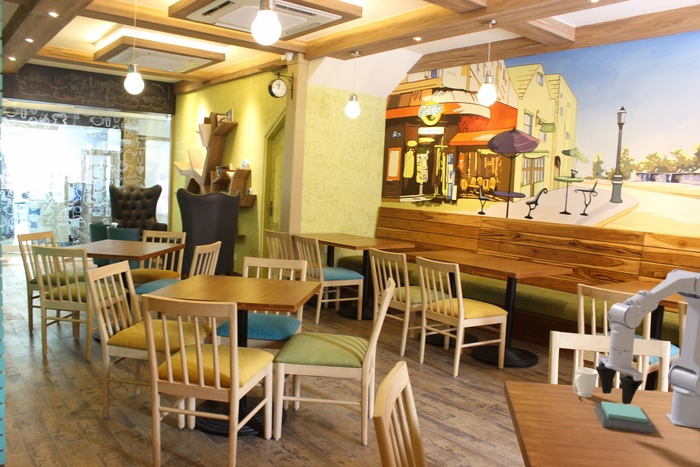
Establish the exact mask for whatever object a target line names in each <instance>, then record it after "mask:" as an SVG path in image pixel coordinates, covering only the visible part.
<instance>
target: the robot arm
mask: <svg viewBox="0 0 700 467" xmlns="http://www.w3.org/2000/svg"><path fill="white" fill-rule="evenodd" d="M674 294H677V295H679V296H681V297H682V298H683V299H684V300H685V301H686V303H687V307H686V308H687V309H686V316H685V320H684V321H685V322H684V330H683V337H682V342H681V343H682V344H681V350H680V351H681V352H680V356H679V357H677V358H675V359H673V360H672V361H671V365H670V368H669V370H668V372H667V382H668V383H669V384H670V388H671V389H672V398H671V399H672V400H671V401H672V402H671V410H670V413H668V412H666V413H665V416H666V417H667V418H668V419H669V421H670V422H671V423H672V424H673V425H675V426H682V427H689V428H694V429H695V428H696V429H700V272H694V271H689V270H683V269H680V268H675V269H673V270H671V271H670V272H668V273H667V275H666V278H665V279H664V280H663V281H662V282H660V283H659V284H657V285H656V286H655V287H653V288H652V289H650V290H643V289H642V290H641V289H640V290H639V291H637V293H636V294H635V295H633V296H632V297H630V298H626V300H625V301H623V302H622V303H621V302H616V303H614V304H612V305H611V306H610V308H609V310H608V312H607V313H606V316H607V320H608V321H609V328H610V338H609V349H608V357H607V356H598V358H597V364H598V365H599V366H596V367H595V370H596V371H597V372H598V378H599V380H600V385H601V390H602V393H603V395H604V394H606V395H607V394H611V393H612V390H613V385H614V384H613V383H614V381H615V376H616V373H617V372H618V373H620V374H622V375H624V376H619V381H620V384H621V393H622V394H621V402H622V403H621V404H625V405H632V402H633V398H634V396H635V394H636V393H637V390H638V389H639V388H640V386H641V385H642V384H643V382H644V380H643V376H644V375H643V373H642V372H641V371H639V370H638V369H636V368H635V367H634V366H632V363H633V355H634V342H635V332H636V328H637V327H639V326H640V325H641V323H642V320H643V319H644V318H645V316H647V315H648V314H650V313H651V312H653V311H655V310H656V309H657V308H658V306H659V302H661V301H663V300H664V299H667V298H669V297H671V296H673V295H674Z"/></svg>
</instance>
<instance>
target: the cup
mask: <svg viewBox="0 0 700 467" xmlns="http://www.w3.org/2000/svg"><path fill="white" fill-rule="evenodd" d="M598 377H599V374H598V372H597V370H596V369H594V368H590V367H586V366H585V367H584V366H583V367H582V366H581V367H579V366H577V367H576V368H575V377H574V379H573V385H572V390H573V392H574V393H575V394H576V395H577V396H578V397H581V398H582V397H584V398H592V397H593V395H592V394H593V392H594V389H595V387H596V382H597V379H598Z"/></svg>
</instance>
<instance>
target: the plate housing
mask: <svg viewBox="0 0 700 467" xmlns="http://www.w3.org/2000/svg"><path fill="white" fill-rule="evenodd" d="M594 403H595V404H594V413H595V414H596V416H597V419H598V420H599V423H600V424H601V426H602V428H604V429H605V428H607V429H614V430H621V431H627V432H633V433H642V434H647V435H655V434H654V433H655V424H654V422H653V421H652V420H651V419H650V417H649V416H648V415H647V413H646V411H645V410H644V409H643V408H640V407H639V408H640V409H641V410H642V412H643V413H644V415H645V416H646V417H647V419H648V423H642V422H635V421H628V420H620V419H613V418H607V416H606V414H605V413H604V411H603V409H602V407H601V402H596V401H595V402H594Z"/></svg>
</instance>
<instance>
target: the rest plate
mask: <svg viewBox="0 0 700 467" xmlns="http://www.w3.org/2000/svg"><path fill="white" fill-rule="evenodd" d="M600 403H601V407H602V409H603V411H604V413H605V414H606V416H607V418H613V419H620V420H628V421H635V422H642V423H648V419H647V417H646V416H645V415H644V413H643V412H642V410H641V409H640V406H639V405H632V404H623V403H616V402H608V401H601V402H600Z"/></svg>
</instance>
